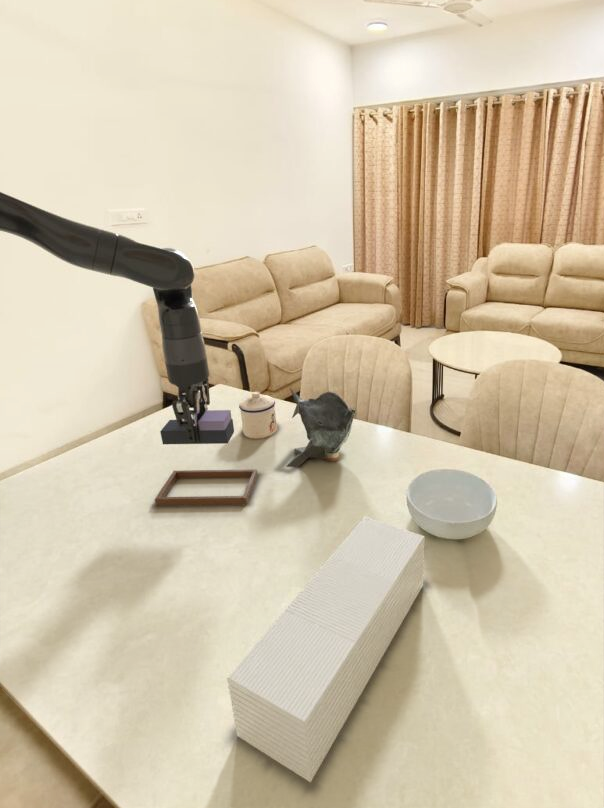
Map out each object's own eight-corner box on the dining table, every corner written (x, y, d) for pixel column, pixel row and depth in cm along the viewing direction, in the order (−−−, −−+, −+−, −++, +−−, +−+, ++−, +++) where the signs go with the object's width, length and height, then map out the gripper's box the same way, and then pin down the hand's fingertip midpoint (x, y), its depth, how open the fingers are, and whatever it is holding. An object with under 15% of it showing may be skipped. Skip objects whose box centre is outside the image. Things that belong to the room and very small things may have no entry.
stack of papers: (310, 787, 56) (304, 722, 52) (237, 740, 60) (226, 677, 56) (423, 589, 82) (424, 536, 78) (366, 567, 86) (364, 516, 82)
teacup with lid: (278, 439, 129) (274, 398, 125) (242, 443, 127) (237, 402, 123) (276, 418, 140) (272, 380, 135) (243, 422, 138) (238, 383, 133)
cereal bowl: (392, 537, 93) (392, 506, 91) (423, 489, 107) (423, 461, 105) (482, 564, 87) (485, 531, 84) (502, 509, 101) (505, 479, 98)
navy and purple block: (227, 443, 99) (224, 421, 97) (162, 444, 99) (158, 422, 97) (234, 431, 104) (231, 409, 102) (172, 432, 104) (168, 410, 102)
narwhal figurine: (341, 483, 110) (337, 410, 103) (278, 472, 114) (271, 401, 108) (362, 451, 122) (360, 384, 116) (305, 442, 127) (300, 377, 120)
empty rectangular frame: (156, 509, 102) (154, 499, 101) (175, 480, 112) (173, 470, 111) (247, 508, 102) (246, 497, 101) (258, 478, 112) (257, 469, 111)
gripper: (192, 369, 88) (206, 453, 95) (216, 344, 102) (226, 418, 108) (150, 370, 88) (166, 453, 95) (179, 344, 102) (192, 419, 108)
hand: (198, 434), depth 101 cm, fingers closed on navy and purple block, 5 cm apart
